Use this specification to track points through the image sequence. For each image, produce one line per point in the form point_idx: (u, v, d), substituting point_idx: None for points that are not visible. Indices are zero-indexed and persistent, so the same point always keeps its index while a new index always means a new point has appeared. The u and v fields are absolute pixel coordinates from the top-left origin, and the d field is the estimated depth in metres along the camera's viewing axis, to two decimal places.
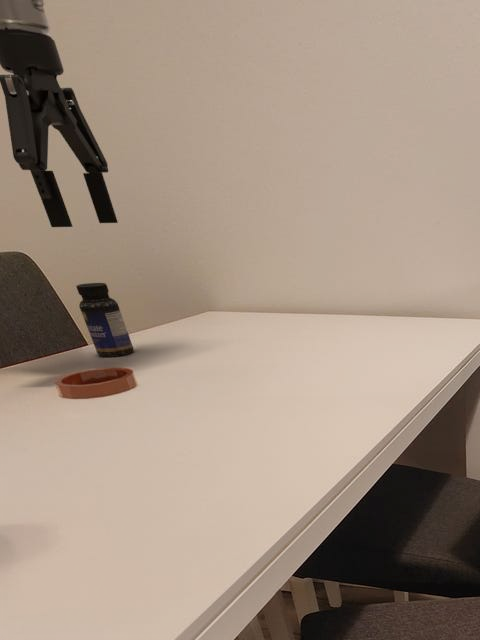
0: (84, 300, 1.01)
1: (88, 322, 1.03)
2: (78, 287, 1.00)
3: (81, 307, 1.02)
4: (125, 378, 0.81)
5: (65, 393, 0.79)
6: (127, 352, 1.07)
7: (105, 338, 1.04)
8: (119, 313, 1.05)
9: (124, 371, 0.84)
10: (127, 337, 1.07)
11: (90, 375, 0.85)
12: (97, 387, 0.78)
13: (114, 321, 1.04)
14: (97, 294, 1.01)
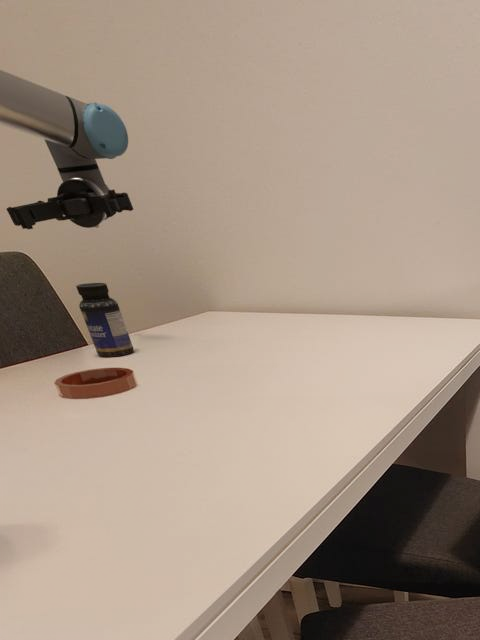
0: (84, 300, 1.01)
1: (88, 322, 1.03)
2: (78, 287, 1.00)
3: (81, 307, 1.02)
4: (125, 378, 0.81)
5: (65, 393, 0.79)
6: (127, 352, 1.07)
7: (105, 338, 1.04)
8: (119, 313, 1.05)
9: (124, 371, 0.84)
10: (127, 337, 1.07)
11: (90, 375, 0.85)
12: (97, 387, 0.78)
13: (114, 321, 1.04)
14: (97, 294, 1.01)
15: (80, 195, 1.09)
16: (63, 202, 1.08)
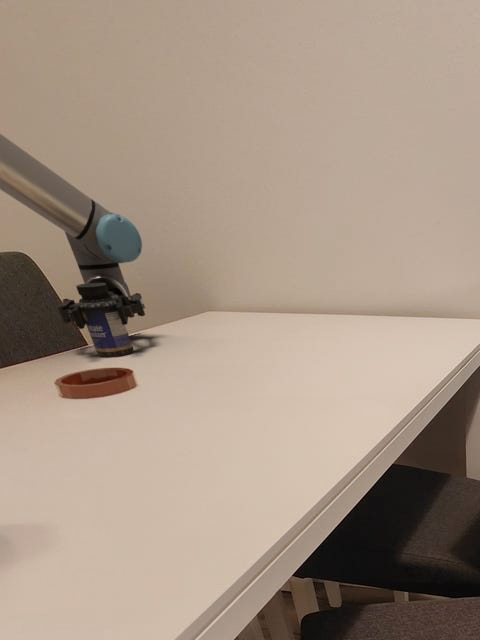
0: (84, 300, 1.01)
1: (88, 322, 1.03)
2: (78, 287, 1.00)
3: (81, 307, 1.02)
4: (125, 378, 0.81)
5: (65, 393, 0.79)
6: (127, 352, 1.07)
7: (105, 338, 1.04)
8: None
9: (124, 371, 0.84)
10: (127, 337, 1.07)
11: (90, 375, 0.85)
12: (97, 387, 0.78)
13: (114, 321, 1.04)
14: (97, 294, 1.01)
15: None
16: None
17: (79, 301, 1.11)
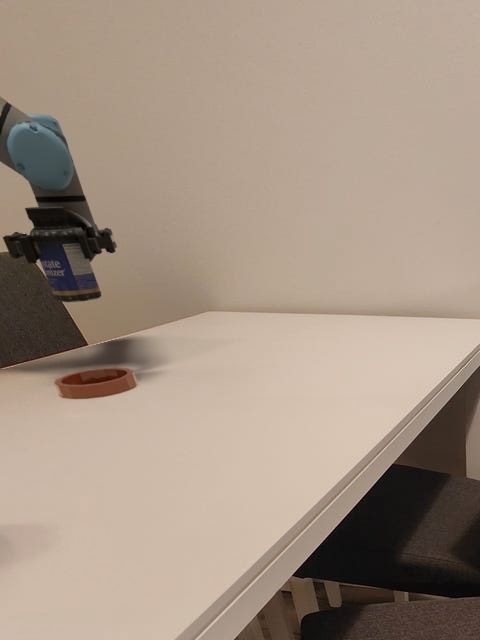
0: (36, 227, 0.80)
1: (42, 256, 0.81)
2: (27, 209, 0.79)
3: (32, 236, 0.80)
4: (125, 378, 0.81)
5: (65, 393, 0.79)
6: (93, 297, 0.86)
7: (63, 278, 0.83)
8: None
9: (124, 371, 0.84)
10: (92, 278, 0.85)
11: (90, 375, 0.85)
12: (97, 387, 0.78)
13: (75, 256, 0.82)
14: (52, 218, 0.79)
15: None
16: None
17: None
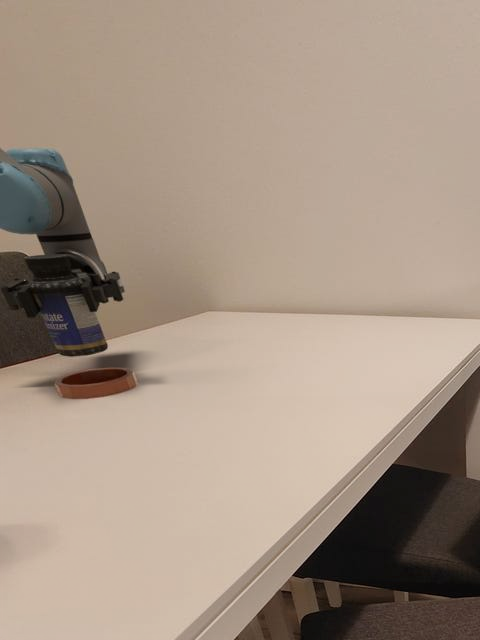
0: (36, 278, 0.73)
1: (43, 309, 0.74)
2: (27, 259, 0.71)
3: (32, 288, 0.73)
4: (125, 378, 0.81)
5: (65, 393, 0.79)
6: (98, 350, 0.79)
7: (66, 332, 0.75)
8: None
9: (124, 371, 0.84)
10: (98, 330, 0.78)
11: (90, 375, 0.85)
12: (97, 387, 0.78)
13: (79, 308, 0.75)
14: (54, 268, 0.72)
15: None
16: None
17: None
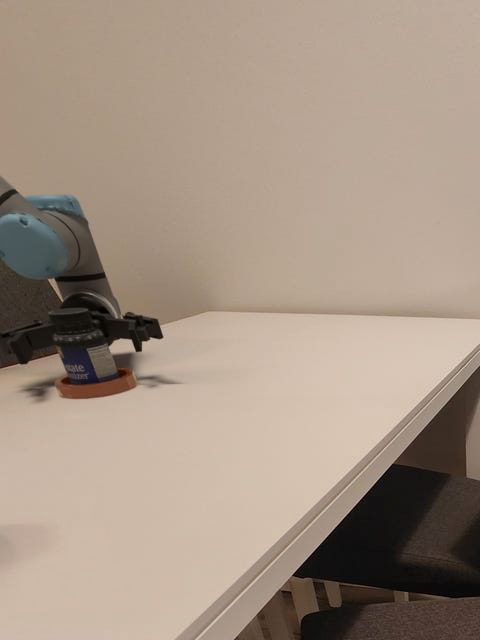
0: (59, 332, 0.77)
1: (65, 360, 0.78)
2: (51, 315, 0.75)
3: (55, 341, 0.77)
4: (125, 378, 0.81)
5: (65, 393, 0.79)
6: None
7: (87, 381, 0.79)
8: (106, 347, 0.80)
9: (124, 371, 0.84)
10: (117, 378, 0.82)
11: None
12: (97, 387, 0.78)
13: (99, 358, 0.79)
14: (76, 323, 0.76)
15: (91, 316, 0.86)
16: None
17: None
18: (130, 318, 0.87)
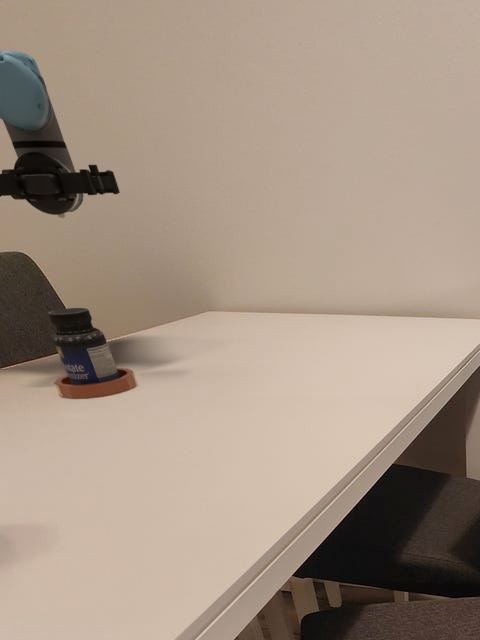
0: (59, 332, 0.77)
1: (65, 360, 0.78)
2: (51, 315, 0.75)
3: (55, 341, 0.77)
4: (125, 378, 0.81)
5: (65, 393, 0.79)
6: None
7: (87, 381, 0.79)
8: (106, 347, 0.80)
9: (124, 371, 0.84)
10: (117, 378, 0.82)
11: None
12: (97, 387, 0.78)
13: (99, 358, 0.79)
14: (76, 323, 0.76)
15: (47, 171, 0.85)
16: (23, 176, 0.83)
17: None
18: None
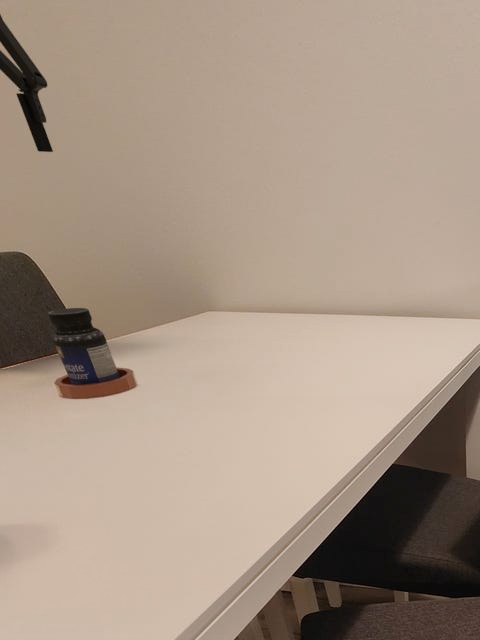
0: (59, 332, 0.77)
1: (65, 360, 0.78)
2: (51, 315, 0.75)
3: (55, 341, 0.77)
4: (125, 378, 0.81)
5: (65, 393, 0.79)
6: None
7: (87, 381, 0.79)
8: (106, 347, 0.80)
9: (124, 371, 0.84)
10: (117, 378, 0.82)
11: None
12: (97, 387, 0.78)
13: (99, 358, 0.79)
14: (76, 323, 0.76)
15: None
16: None
17: None
18: None
